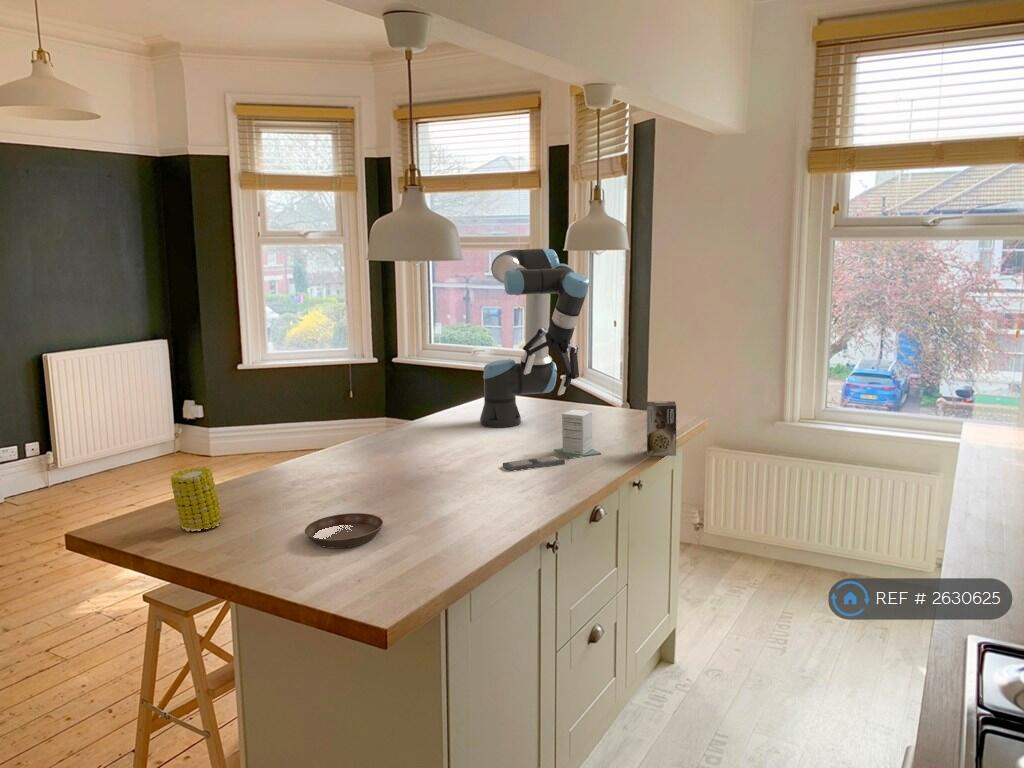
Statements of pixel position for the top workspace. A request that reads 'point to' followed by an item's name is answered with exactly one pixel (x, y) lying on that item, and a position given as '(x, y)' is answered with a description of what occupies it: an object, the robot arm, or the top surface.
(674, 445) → the coffee box
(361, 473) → the top surface
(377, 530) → the plant saucer
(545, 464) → the label plate
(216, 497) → the food
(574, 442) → the supplement box
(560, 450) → the mat
